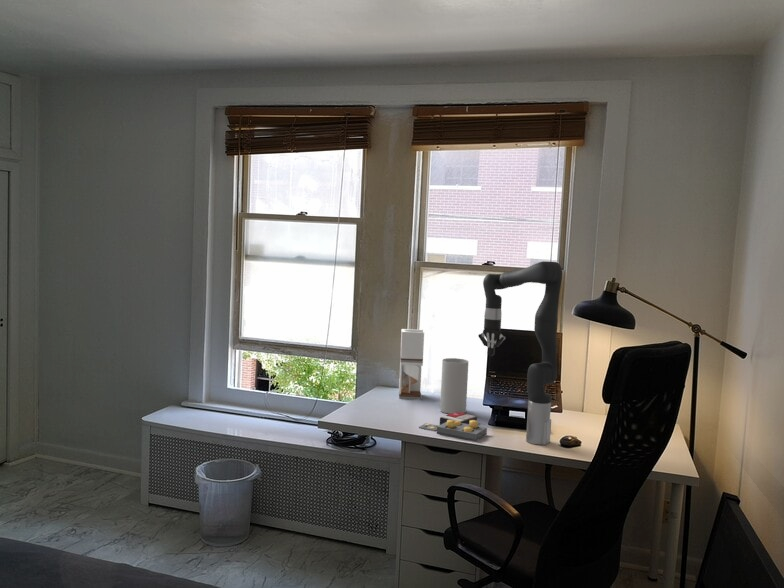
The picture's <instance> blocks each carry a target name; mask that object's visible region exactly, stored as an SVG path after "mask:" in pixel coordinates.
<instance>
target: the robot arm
mask: <svg viewBox="0 0 784 588" xmlns="http://www.w3.org/2000/svg"><path fill="white" fill-rule="evenodd" d="M562 280H563V268H562V266H561V264H560V263H559V262H558V261H543V260H542V261H539V262H537V263H534V264H531V265H530V266H527V267H524V268H520V269H513V270H508V271H505V272H504V271H503V273H488V274H486V275H485V276H484V278H483V281H482V284H483V285H482V286H483V290H484V291H483V292H484V295H485V309H484V317H483V318H484V320H483V322H484V323H483V330H482V333H479V334H478V338H479V340H480V342H481V343H482V344H483V346H485V347H487V355H488V357H493V356H494V355H495V352H496V348H498V347H500V346H501V344H502V343H503V342H504V341H505V340H506V338H507V337H506V336H505V335H503V334H502V315H503V314H502V302H503V301H502V296H501V295H500V294H499V295H498V294H497V293H496V290H498V291H499V290H504V289H505V290H506V289H508V288H513V287H518V286H522V285H524V284H527V283H528V284H529V283H531V284H534V283H535V284H537V283H538V284H542V285H545V290H544V296H543V298H542V300H541V302H540V304H539V306H538V307H537V310H536V312H535V314H534V315H535V316H534V334H535V336H536V339H537V341H538V343H539V345H540V347H541V348H540V349H541V362H538V363H537V362H535V363H531V364H530V365H529V367H528V369H527V375H526V382H527V383H526V389H527V390H526V391H527V396H528V401H527V417H526V420H527V421H526V435H525V437H526V438H525V441H526V442H528V443H529V444H532V445H533V444H534V445H543V446H546V445H548V444H550V443H551V433H552V419H551V411H552V410H551V409H552V396H551V394H550V393H547V392H545V386H547V385H552V384H554V383H555V381H556V380H557V376H558V361H557V336H558V335H557V333H558V319H559V317H558V316H559V303H560V302H559V301H560V294H561V293H560V292H561V288H562V287H561V286H562ZM498 339H499V340H498Z"/></svg>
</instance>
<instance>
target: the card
mask: <svg viewBox="0 0 784 588" xmlns="http://www.w3.org/2000/svg"><path fill="white" fill-rule="evenodd" d="M437 426H439V425H438V424H433V423H427V422H425V423H424V424H422V425H419V426H418V429H421V430H428V431H432V432H437Z"/></svg>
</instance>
